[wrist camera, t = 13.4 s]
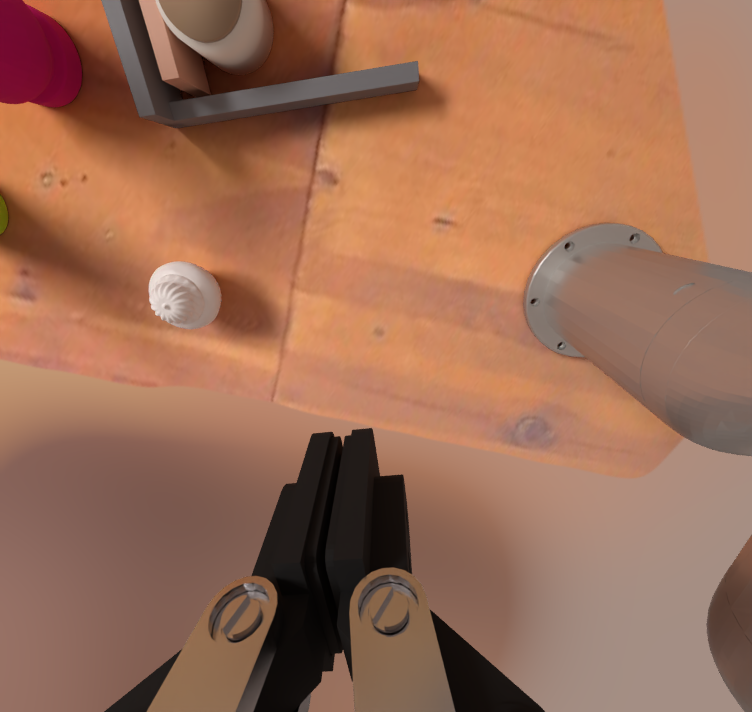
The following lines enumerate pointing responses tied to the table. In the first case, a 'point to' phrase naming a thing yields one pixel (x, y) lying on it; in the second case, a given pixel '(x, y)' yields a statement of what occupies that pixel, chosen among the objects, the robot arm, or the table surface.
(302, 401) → the table surface
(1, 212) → the soap dispenser
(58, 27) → the pepper mill
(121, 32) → the frame
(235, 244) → the table surface
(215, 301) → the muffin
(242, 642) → the robot arm
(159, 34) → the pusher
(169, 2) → the jar
